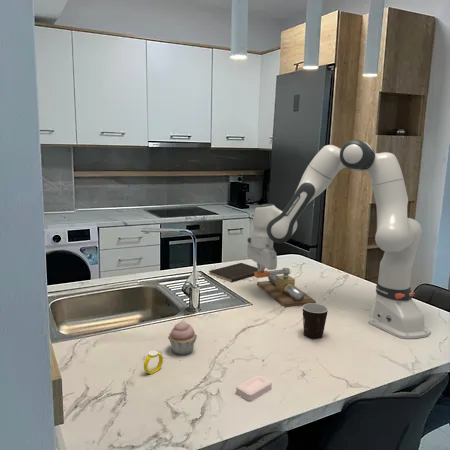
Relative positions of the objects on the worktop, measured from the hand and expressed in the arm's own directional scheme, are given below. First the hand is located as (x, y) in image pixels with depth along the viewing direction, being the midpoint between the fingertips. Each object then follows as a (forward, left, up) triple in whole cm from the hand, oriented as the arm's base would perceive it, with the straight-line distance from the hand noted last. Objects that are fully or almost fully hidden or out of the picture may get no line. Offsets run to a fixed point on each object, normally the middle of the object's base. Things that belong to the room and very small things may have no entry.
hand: (260, 273), depth 185 cm
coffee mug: (-41, -1, -10) cm, 42 cm away
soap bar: (-65, +31, -11) cm, 73 cm away
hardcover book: (+31, -1, -11) cm, 33 cm away
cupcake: (-38, +44, -10) cm, 59 cm away
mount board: (-1, -11, -10) cm, 15 cm away
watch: (-48, +55, -10) cm, 73 cm away
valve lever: (-2, -5, 0) cm, 5 cm away
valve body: (-1, -11, -10) cm, 15 cm away
